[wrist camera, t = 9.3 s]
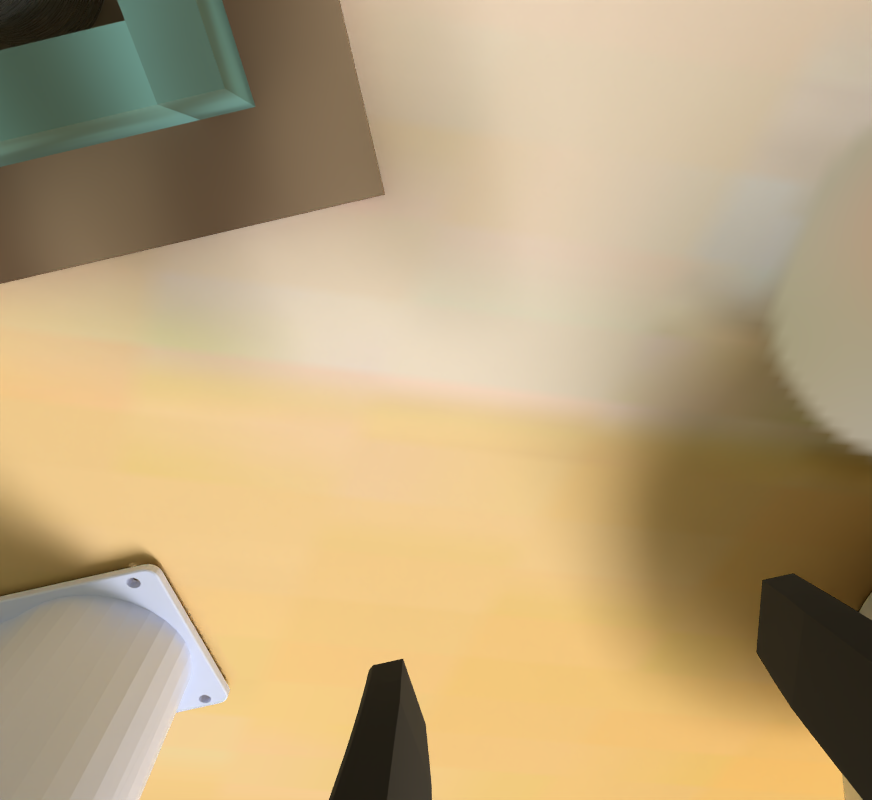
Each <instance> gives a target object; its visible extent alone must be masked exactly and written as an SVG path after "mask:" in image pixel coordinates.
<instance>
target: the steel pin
mask: <svg viewBox="0 0 872 800" xmlns="http://www.w3.org/2000/svg"><path fill="white" fill-rule="evenodd" d="M103 2H104V0H0V43H3V44H6V45H9V46H11V47H16V46H20V45H24V44H28V43H33V42H37V41H41V40H45V39H49V38H54V37H58V36H62V35H66V34H70V33H74V32H79V31H83V30H87V29H91V28H92V27H93V25H94V24H95V22H96V21H97V18H98V16H99V14H100V12H101V9H102V6H103Z"/></svg>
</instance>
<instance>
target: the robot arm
mask: <svg viewBox="0 0 872 800" xmlns="http://www.w3.org/2000/svg"><path fill="white" fill-rule="evenodd" d="M133 578H136V579H138V580H139V581H137V580H134V579H133ZM757 654H758V656H759V657H760V659H761V661H762V662H763V664H764V665H765V667H766V669H767V670H768V672H769V674H770V675H771V677H772V678H773V680H774V682H775V683H776V685H777V686H778V688H779V689H780V691H781V693H782V694H783V696H784V697H785V699H786V700H787V702H788V703H789V705H790V706H791V708H792V709H793V711H794V712H795V713H796V715H797V716H798V717H799V719H800V720H801V721H802V722H803V724H804V725H805V726H806V728H807V729H808V730H809V732H810V733H811V734H812V735H813V737H814V738H815V739H816V741H817V742H818V743H819V744H820V746H821V747H822V748H823V750H824V751H825V752H826V754H827V755H828V756H829V757H830V759H831V760H832V761H833V762H834V764H835V765H836V766H837V768H838V769H839V770H840V771H841V773H842V774H843V775H844V777H845V778H846V779H847V780H848V782H849V783H850V784H851V785H852V787H853V788H854V789H855V791H856V792H857V793H858V794H859V796H860V797H861V798H862V800H872V620H871V619H869V618H867V617H866V616H864V615H862V614H861V613H859V612H857V611H856V610H854V609H852V608H851V607H849V606H847V605H846V604H844V603H842V602H841V601H839V600H837V599H836V598H834V597H832V596H831V595H829V594H827V593H826V592H824V591H822V590H821V589H819V588H817V587H816V586H814V585H812V584H811V583H809V582H807V581H805V580H804V579H802V578H800V577H799V576H797V575H795V574H789V575H784V576H779V577H775V578H770V579H766V580H762V592H761V604H760V616H759V628H758V640H757ZM229 691H230V689H229V686H228V684H227V683H226V681H225V679H224V677H223V676H222V674H221V672H220V671H219V669H218V667H217V665H216V664H215V662H214V660H213V658H212V657H211V655H210V653H209V651H208V650H207V648H206V646H205V645H204V643H203V641H202V639H201V638H200V636H199V634H198V632H197V631H196V629H195V627H194V625H193V624H192V622H191V620H190V619H189V617H188V615H187V613H186V612H185V610H184V608H183V606H182V605H181V603H180V601H179V599H178V598H177V596H176V594H175V593H174V591H173V589H172V587H171V586H170V584H169V582H168V580H167V579H166V577H165V575H164V573H163V572H162V570H161V569H160V568H159V567H157V566H155V565H152V564H143V565H139V566H135V567H130V568H126V569H121V570H117V571H112V572H108V573H103V574H99V575H94V576H90V577H85V578H81V579H76V580H72V581H67V582H63V583H58V584H54V585H49V586H45V587H40V588H36V589H31V590H27V591H22V592H18V593H13V594H9V595H5V596H0V800H139V799H140V797H141V794H142V792H143V790H144V787H145V785H146V782H147V780H148V778H149V775H150V773H151V771H152V768H153V766H154V763H155V761H156V759H157V756H158V754H159V751H160V749H161V747H162V744H163V742H164V740H165V737H166V735H167V732H168V730H169V728H170V725H171V723H172V721H173V718H174V716H175V713H176V712H181V711H186V710H190V709H195V708H199V707H204V706H208V705H213V704H218V703H221V702H224V701H225V700H226V699H227V697H228V694H229ZM329 800H432V786H431V775H430V764H429V754H428V744H427V734H426V724H425V721H424V718H423V715H422V713H421V710H420V707H419V704H418V701H417V698H416V695H415V692H414V689H413V686H412V684H411V681H410V678H409V675H408V672H407V669H406V666H405V663H404V660H403V659H400V660H395V661H391V662H386V663H382V664H377V665H373V666H372V667H371V669H370V670H369V672H368V676H367V681H366V685H365V688H364V692H363V696H362V699H361V703H360V707H359V710H358V714H357V717H356V720H355V724H354V727H353V730H352V733H351V736H350V740H349V743H348V746H347V749H346V752H345V755H344V758H343V761H342V764H341V766H340V769H339V772H338V775H337V778H336V781H335V784H334V787H333V790H332V793H331V795H330V798H329Z"/></svg>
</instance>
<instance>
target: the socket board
mask: <svg viewBox="0 0 872 800" xmlns="http://www.w3.org/2000/svg"><path fill="white" fill-rule="evenodd" d="M384 194H385V193H384V189H383V184H382V180H381V176H380V171H379V167H378V163H377V159H376V154H375V150H374V146H373V142H372V137H371V133H370V129H369V125H368V120H367V116H366V112H365V108H364V103H363V99H362V95H361V91H360V86H359V82H358V78H357V74H356V69H355V65H354V61H353V57H352V52H351V48H350V44H349V40H348V35H347V31H346V27H345V23H344V18H343V14H342V10H341V5H340V1H339V0H104V2H103V6H102V9H101V12H100V14H99V16H98V18H97V21H96V22H95V24H94V25H93V27H92V28H91V29H87V30H83V31H79V32H74V33H70V34H66V35H62V36H58V37H54V38H49V39H45V40H41V41H37V42H33V43H28V44H24V45H20V46H16V47H11V46H9V45H6V44H3V43H0V284H1V283H6V282H10V281H14V280H19V279H23V278H27V277H31V276H36V275H40V274H44V273H49V272H53V271H57V270H62V269H66V268H70V267H74V266H79V265H83V264H87V263H92V262H96V261H100V260H105V259H109V258H113V257H118V256H122V255H126V254H130V253H135V252H139V251H143V250H148V249H152V248H156V247H161V246H165V245H169V244H173V243H178V242H182V241H186V240H191V239H195V238H199V237H204V236H208V235H212V234H217V233H221V232H225V231H229V230H234V229H238V228H242V227H247V226H251V225H255V224H260V223H264V222H268V221H273V220H277V219H281V218H285V217H290V216H294V215H298V214H303V213H307V212H311V211H316V210H320V209H324V208H328V207H333V206H337V205H341V204H346V203H350V202H354V201H359V200H363V199H367V198H372V197H376V196H380V195H384Z"/></svg>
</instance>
